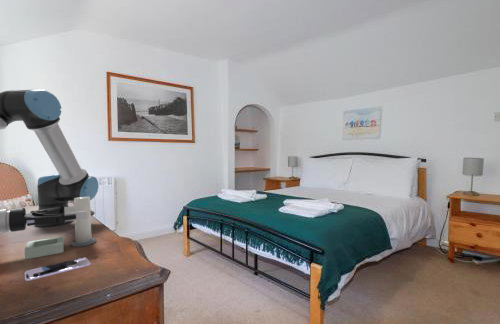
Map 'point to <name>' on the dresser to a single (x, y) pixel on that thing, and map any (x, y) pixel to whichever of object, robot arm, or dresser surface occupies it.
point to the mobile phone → (56, 268)
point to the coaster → (83, 243)
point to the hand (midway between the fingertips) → (86, 211)
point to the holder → (44, 247)
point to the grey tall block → (85, 224)
